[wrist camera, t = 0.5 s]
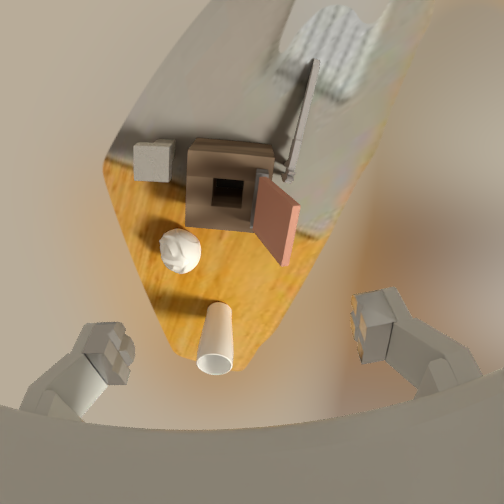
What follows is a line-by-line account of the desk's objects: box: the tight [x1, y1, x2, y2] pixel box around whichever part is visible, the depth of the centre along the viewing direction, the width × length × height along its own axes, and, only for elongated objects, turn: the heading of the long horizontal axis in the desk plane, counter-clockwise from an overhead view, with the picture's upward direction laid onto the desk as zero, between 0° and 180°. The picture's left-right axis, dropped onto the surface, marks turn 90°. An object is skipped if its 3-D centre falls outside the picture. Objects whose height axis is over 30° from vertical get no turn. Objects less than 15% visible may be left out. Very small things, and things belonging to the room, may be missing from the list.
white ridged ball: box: [159, 228, 201, 274], centre depth 55 cm, size 8×8×8 cm
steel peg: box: [133, 139, 175, 182], centre depth 45 cm, size 5×5×9 cm
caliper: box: [281, 59, 320, 184], centre depth 44 cm, size 20×1×6 cm, turn 167°
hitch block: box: [185, 138, 275, 233], centre depth 48 cm, size 12×12×10 cm
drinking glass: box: [196, 302, 233, 375], centre depth 62 cm, size 7×7×15 cm
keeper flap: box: [253, 177, 301, 266], centre depth 40 cm, size 9×8×1 cm
